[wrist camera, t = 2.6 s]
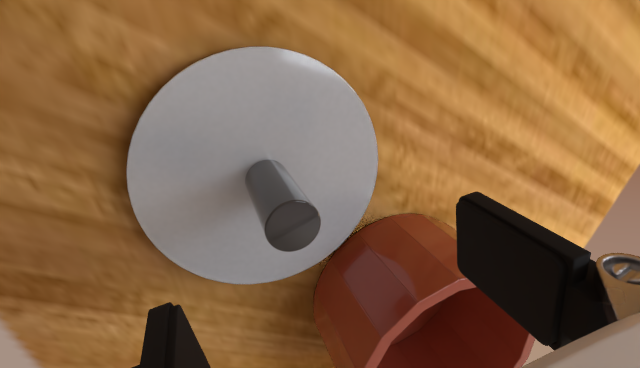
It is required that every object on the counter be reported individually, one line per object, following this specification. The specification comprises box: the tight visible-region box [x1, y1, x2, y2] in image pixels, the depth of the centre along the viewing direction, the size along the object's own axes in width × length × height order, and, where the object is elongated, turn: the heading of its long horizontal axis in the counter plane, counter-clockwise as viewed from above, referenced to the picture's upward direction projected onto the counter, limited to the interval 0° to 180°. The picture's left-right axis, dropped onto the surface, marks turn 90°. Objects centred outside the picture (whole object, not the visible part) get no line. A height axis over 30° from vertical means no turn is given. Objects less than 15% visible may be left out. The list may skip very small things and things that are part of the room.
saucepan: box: [313, 214, 535, 368], centre depth 24 cm, size 13×18×7 cm
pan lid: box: [126, 46, 378, 284], centre depth 17 cm, size 14×14×7 cm
